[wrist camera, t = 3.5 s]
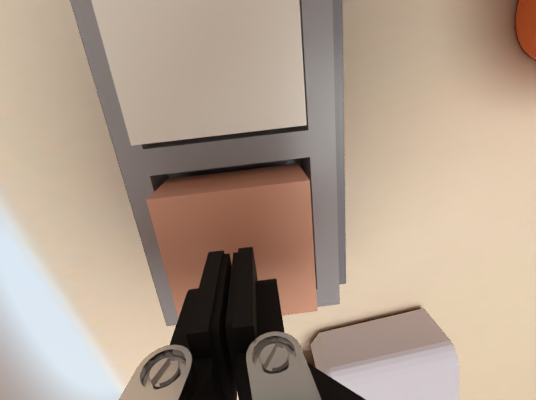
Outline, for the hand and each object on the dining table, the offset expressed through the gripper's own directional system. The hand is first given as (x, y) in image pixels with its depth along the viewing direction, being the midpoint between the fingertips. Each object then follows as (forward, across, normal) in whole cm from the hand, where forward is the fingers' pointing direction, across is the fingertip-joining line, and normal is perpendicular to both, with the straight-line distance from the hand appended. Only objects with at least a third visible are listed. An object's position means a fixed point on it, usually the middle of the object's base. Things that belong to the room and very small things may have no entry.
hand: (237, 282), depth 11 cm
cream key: (+4, 0, -9) cm, 10 cm away
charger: (+10, -6, +16) cm, 20 cm away
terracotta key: (+4, 0, 0) cm, 4 cm away
